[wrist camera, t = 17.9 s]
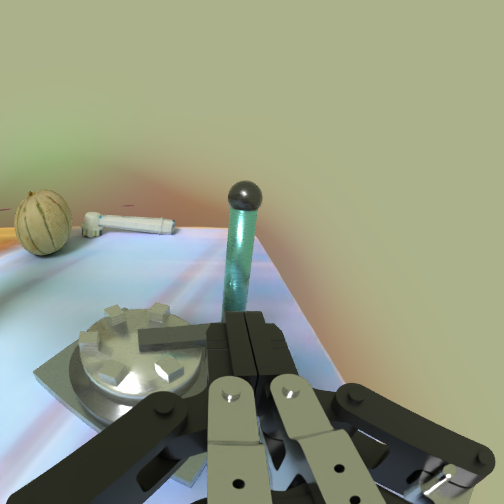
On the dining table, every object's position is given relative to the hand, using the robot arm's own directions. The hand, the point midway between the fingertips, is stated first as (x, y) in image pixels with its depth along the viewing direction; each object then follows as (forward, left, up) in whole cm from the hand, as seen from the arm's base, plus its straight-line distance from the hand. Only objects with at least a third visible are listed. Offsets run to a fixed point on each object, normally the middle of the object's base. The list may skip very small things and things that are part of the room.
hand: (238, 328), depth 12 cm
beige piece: (-49, +44, -20) cm, 69 cm away
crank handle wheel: (-12, +10, -16) cm, 22 cm away
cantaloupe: (-57, +23, -19) cm, 65 cm away
